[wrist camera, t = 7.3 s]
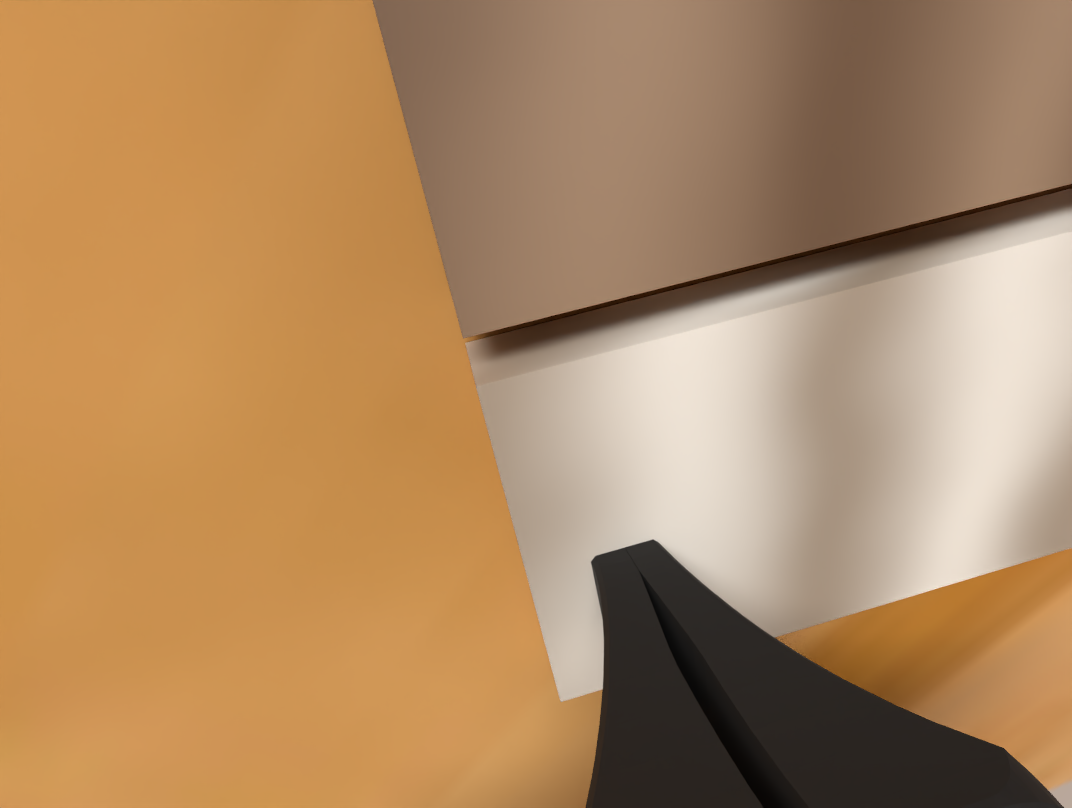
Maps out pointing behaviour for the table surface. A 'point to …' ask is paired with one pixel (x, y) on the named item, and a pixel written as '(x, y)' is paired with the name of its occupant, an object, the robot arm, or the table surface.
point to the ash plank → (798, 427)
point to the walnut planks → (710, 132)
